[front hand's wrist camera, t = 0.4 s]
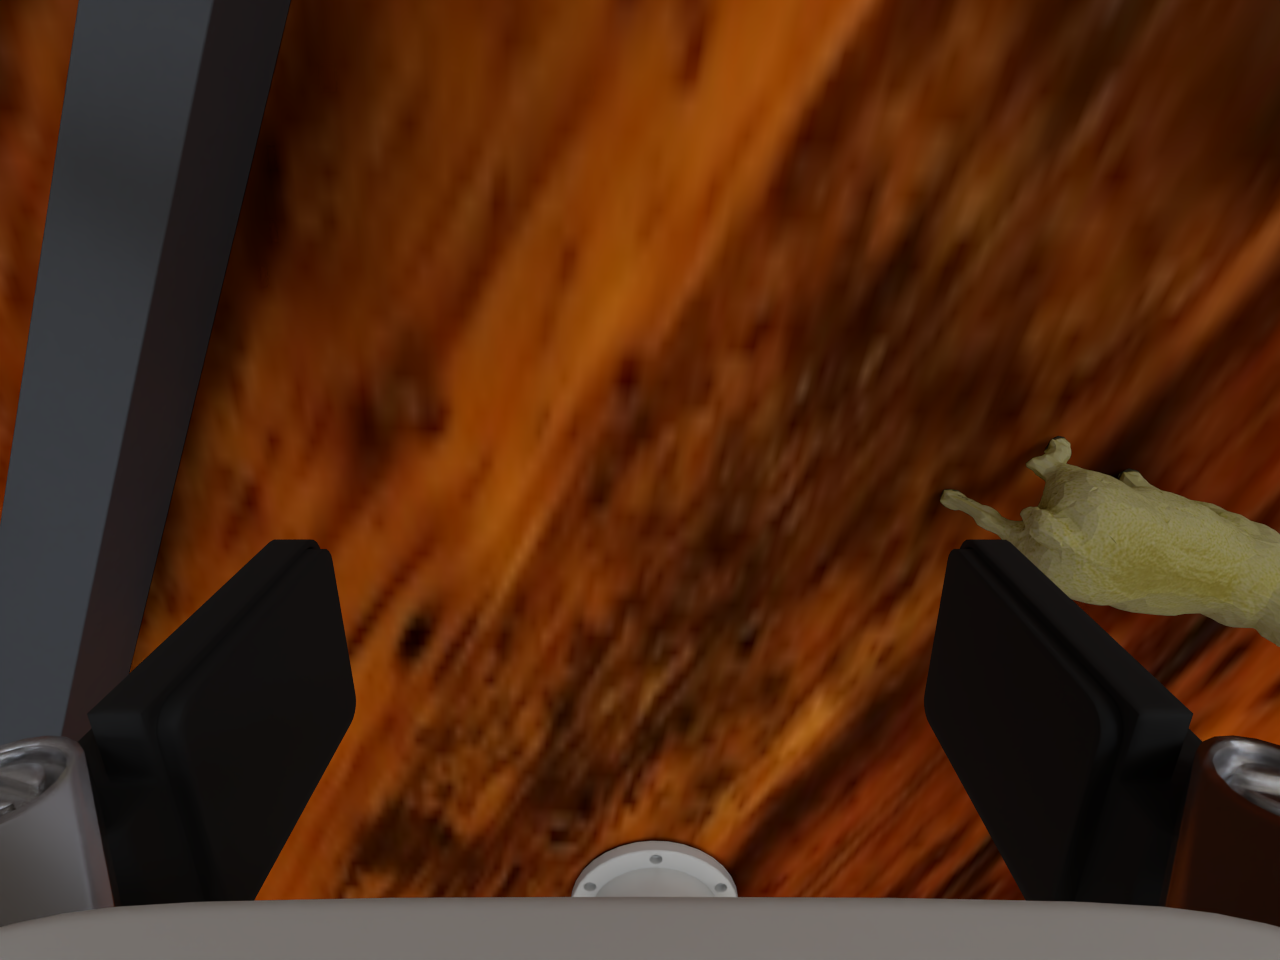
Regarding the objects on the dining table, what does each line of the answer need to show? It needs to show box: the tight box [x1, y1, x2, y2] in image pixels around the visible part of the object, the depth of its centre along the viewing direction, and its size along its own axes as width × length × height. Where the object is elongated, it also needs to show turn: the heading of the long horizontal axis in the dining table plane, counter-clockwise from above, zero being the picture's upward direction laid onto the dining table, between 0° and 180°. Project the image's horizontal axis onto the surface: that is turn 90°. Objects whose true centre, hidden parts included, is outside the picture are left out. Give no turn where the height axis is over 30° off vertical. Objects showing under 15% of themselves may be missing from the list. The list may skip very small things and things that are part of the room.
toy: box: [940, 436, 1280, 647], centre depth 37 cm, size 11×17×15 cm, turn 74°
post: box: [0, 0, 291, 745], centre depth 42 cm, size 68×5×6 cm, turn 155°
